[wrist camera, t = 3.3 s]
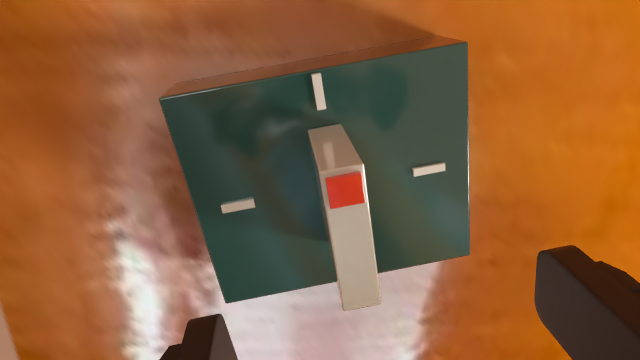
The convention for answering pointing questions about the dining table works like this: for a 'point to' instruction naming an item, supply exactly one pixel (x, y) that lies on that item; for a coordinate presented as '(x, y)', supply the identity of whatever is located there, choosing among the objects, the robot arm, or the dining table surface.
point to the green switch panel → (298, 169)
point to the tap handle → (346, 216)
